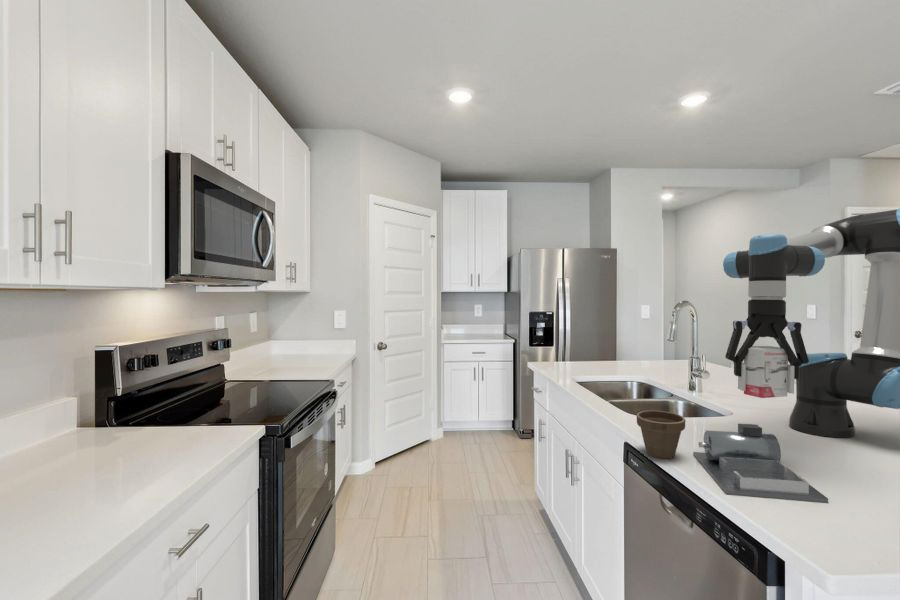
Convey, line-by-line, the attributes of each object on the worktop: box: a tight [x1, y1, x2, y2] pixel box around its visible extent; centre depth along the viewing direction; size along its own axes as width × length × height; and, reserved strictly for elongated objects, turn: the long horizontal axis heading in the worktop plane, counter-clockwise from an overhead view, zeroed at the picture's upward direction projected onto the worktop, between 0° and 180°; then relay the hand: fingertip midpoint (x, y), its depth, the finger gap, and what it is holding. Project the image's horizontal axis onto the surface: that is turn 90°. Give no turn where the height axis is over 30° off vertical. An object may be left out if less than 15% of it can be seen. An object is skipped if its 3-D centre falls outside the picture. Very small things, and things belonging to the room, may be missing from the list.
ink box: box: [743, 345, 789, 399], centre depth 108 cm, size 9×5×12 cm, turn 105°
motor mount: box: [692, 423, 829, 503], centre depth 101 cm, size 18×23×10 cm
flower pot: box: [636, 410, 687, 460], centre depth 115 cm, size 12×11×10 cm
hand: (765, 390), depth 108 cm, fingers closed on ink box, 9 cm apart
